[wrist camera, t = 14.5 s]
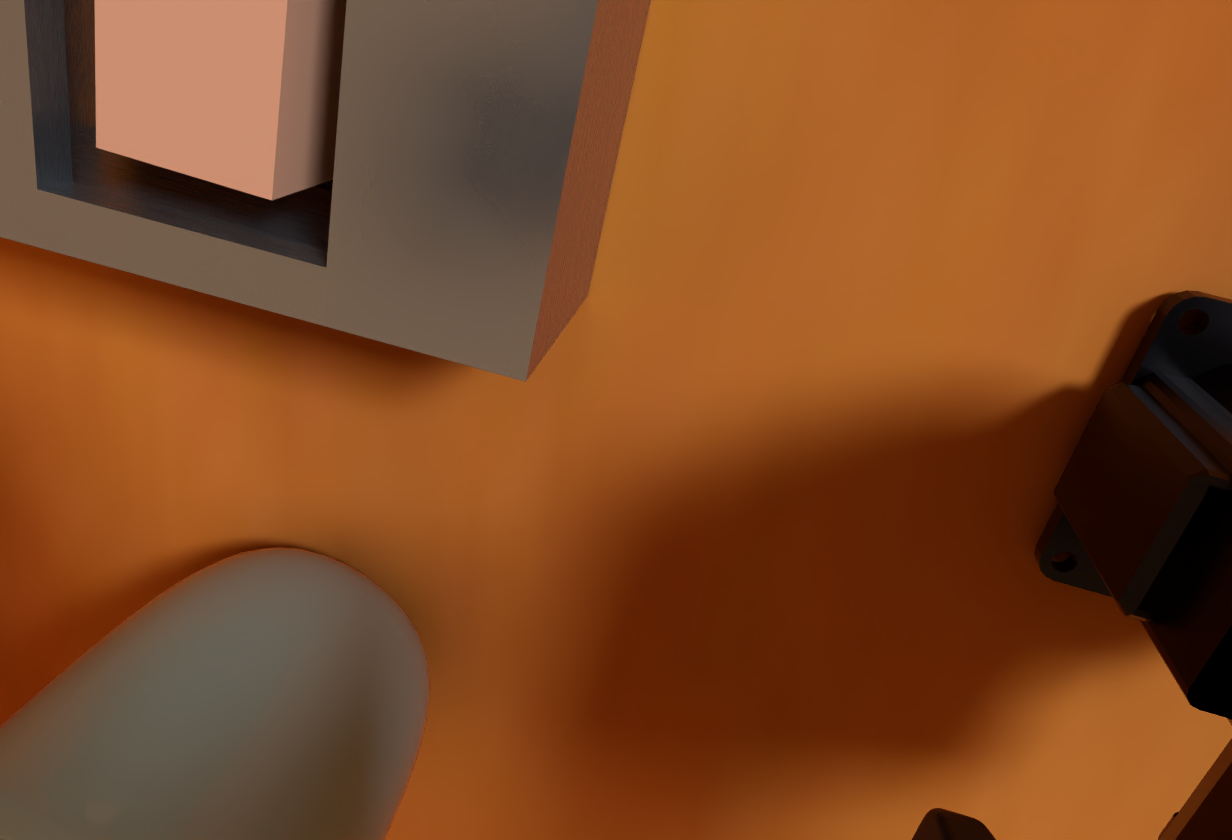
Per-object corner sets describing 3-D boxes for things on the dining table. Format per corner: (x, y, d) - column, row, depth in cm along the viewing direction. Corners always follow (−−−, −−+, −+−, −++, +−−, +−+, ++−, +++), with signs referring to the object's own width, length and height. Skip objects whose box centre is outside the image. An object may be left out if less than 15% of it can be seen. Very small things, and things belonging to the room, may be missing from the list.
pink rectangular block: (377, -134, 14) (300, -165, 12) (342, 175, 16) (271, 200, 14) (201, -183, 14) (92, -223, 12) (190, 131, 16) (96, 147, 14)
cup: (522, 626, 23) (350, 1021, 14) (379, 783, 26) (164, 1185, 17) (268, 445, 22) (-95, 742, 13) (153, 632, 25) (-201, 973, 16)
